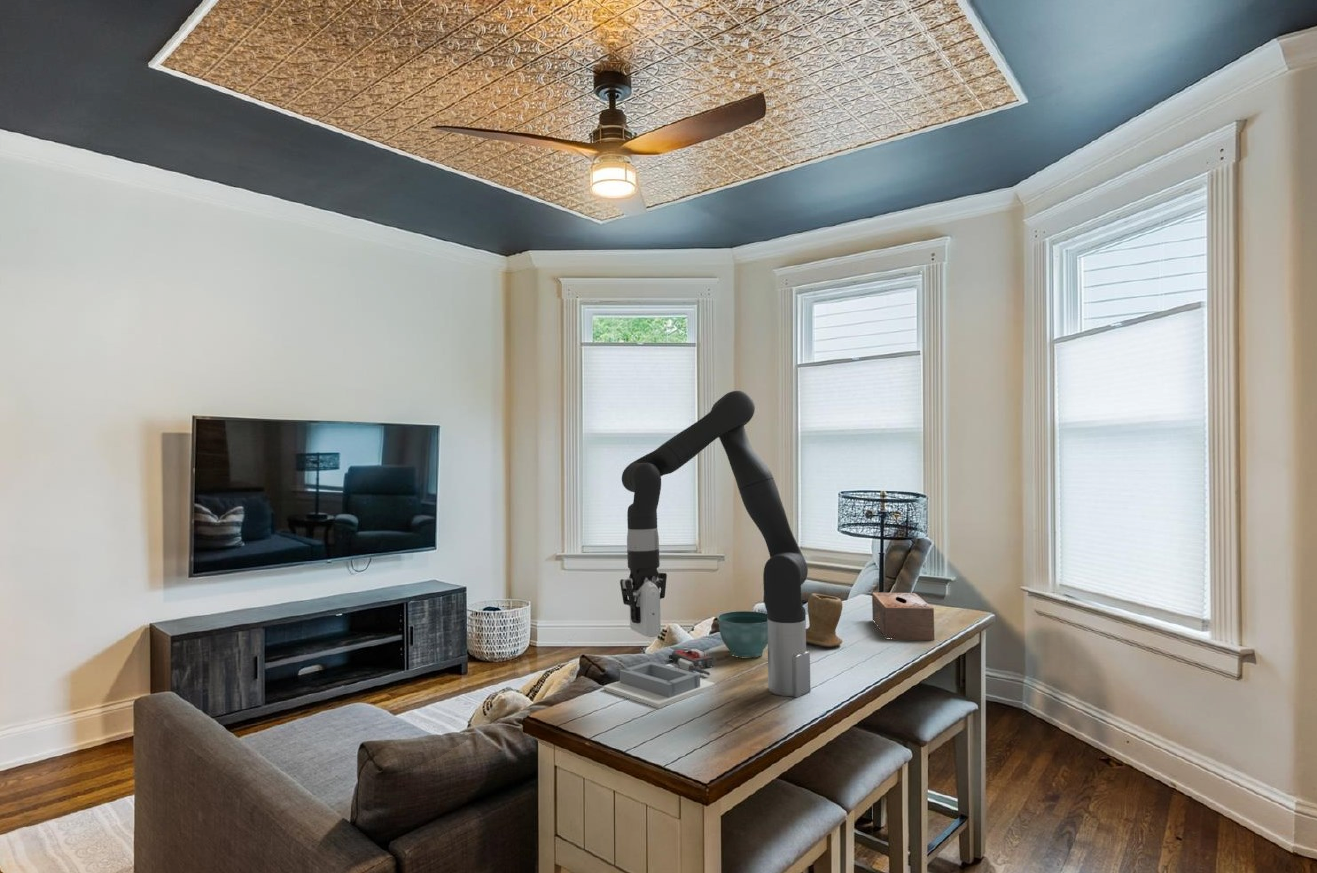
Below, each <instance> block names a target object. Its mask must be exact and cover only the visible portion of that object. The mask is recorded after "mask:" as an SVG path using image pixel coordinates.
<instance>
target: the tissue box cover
mask: <svg viewBox="0 0 1317 873" xmlns="http://www.w3.org/2000/svg"><path fill="white" fill-rule="evenodd" d="M871 599H872V600H871V603H872V606H871V607H872V610H871V611H872V621H873V620H874V621H875V623H876V624H877V625H878V627H879V628H880V630H881V631H882V632H883V634H884V635H885V637H886V638H890V639H889V640H903V639H911V641H912V640H916V641H935V608H933V606H931V605H930V604H929V603H928V602H926V601H925V600H924V599H923V598H922V597H921V596H919V595H918V594H917V593H916V592H871ZM875 623H874V624H875ZM876 624H875V625H876ZM878 627H877V628H878ZM880 630H879V631H880ZM881 631H880V632H881ZM883 634H882V635H883ZM884 635H883V636H884ZM885 637H884V638H885ZM886 638H885V639H886ZM891 638H892V639H891Z"/></svg>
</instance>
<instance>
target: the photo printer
mask: <svg viewBox="0 0 1317 873" xmlns="http://www.w3.org/2000/svg"><path fill="white" fill-rule="evenodd" d="M639 591H641V597H640V606H639V607H640V618H641V622H640V623H633V622H632V620H631V607H630V606H629V628H630V629H631V630H632V631H634V632H636V633H638V634H640V635H642V636H643V637H644V636H645V637H647V638H655V637H658V636H660V635H661V631H662V629H661V628H662V627H661V626H662V625H661V599H660V592H661V591H660V588H659V589H658V588H657V586H656V585H655V584H654V583H652V582H651V581H649V580H648V582H645V584H643V586H641V588H640V589H639V590H637V591H636V590H635V593H639ZM636 598H637V597H635V601H636Z"/></svg>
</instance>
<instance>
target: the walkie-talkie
mask: <svg viewBox="0 0 1317 873" xmlns="http://www.w3.org/2000/svg"><path fill="white" fill-rule="evenodd" d="M713 658H714V657H711V656H709V655H706V653H705V652H704V651H703V650H701V649H699V648H691V649H690V647H686V648H680V649H675V650H673V651H672V652H671V654H668V659H670V660H671V662H674V663H676V664H678V665H679V669H682V670H686V671H689V672H693V671H694V672H695V673H698V674H700V675H701V674H705V675H706V676H710V675H711V673H710V672H709V671H706V670H704V669H706V668H709V669H710V668H712V667H713V665H714V664H713V662H714V661H713V660H714V659H713ZM711 666H712V667H711Z"/></svg>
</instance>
